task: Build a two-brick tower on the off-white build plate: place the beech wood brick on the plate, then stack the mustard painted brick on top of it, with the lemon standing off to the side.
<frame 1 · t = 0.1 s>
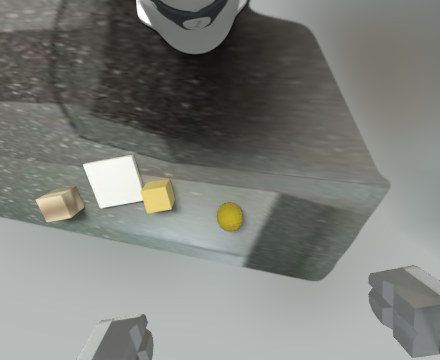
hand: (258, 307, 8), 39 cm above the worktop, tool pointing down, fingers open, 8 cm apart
build plate: (117, 181, 46), on the worktop
beech brick: (69, 198, 47), on the worktop
mustard brick: (161, 190, 47), on the worktop
lemon: (228, 207, 50), on the worktop
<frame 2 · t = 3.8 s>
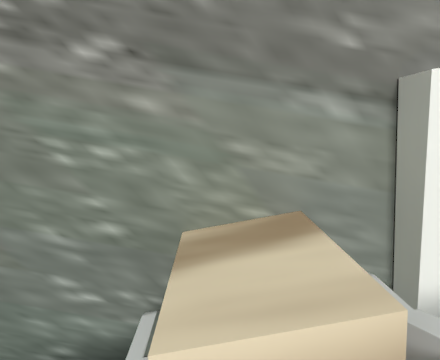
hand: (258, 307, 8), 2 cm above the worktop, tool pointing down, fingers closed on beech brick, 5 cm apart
beech brick: (249, 272, 9), on the worktop, touching gripper
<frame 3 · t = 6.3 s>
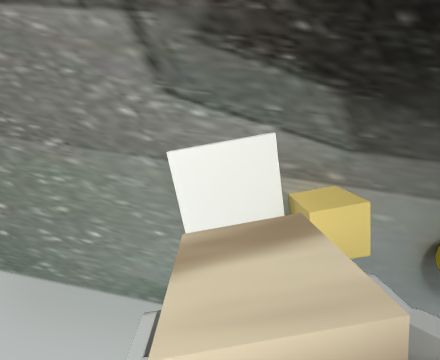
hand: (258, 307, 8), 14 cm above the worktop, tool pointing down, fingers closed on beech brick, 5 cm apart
build plate: (228, 190, 22), on the worktop
beech brick: (250, 274, 9), point 13 cm above the worktop, touching gripper
mustard brick: (313, 211, 23), on the worktop
lemon: (437, 246, 24), on the worktop
when the fingers open (4 cm above the worktop, at t = 8.5 s): beech brick stays where it is, resting on build plate.
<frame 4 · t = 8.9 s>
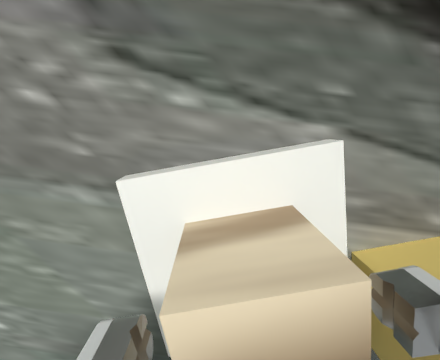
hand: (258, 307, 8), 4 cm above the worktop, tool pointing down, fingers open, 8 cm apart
build plate: (242, 247, 12), on the worktop
beech brick: (245, 261, 10), point 1 cm above the worktop, touching build plate
mustard brick: (393, 280, 13), on the worktop
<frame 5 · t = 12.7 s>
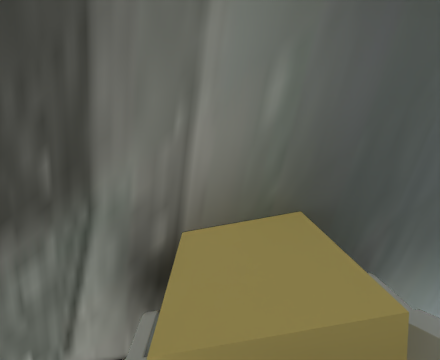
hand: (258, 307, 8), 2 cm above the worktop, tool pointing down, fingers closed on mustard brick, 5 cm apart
mustard brick: (249, 273, 9), on the worktop, touching gripper
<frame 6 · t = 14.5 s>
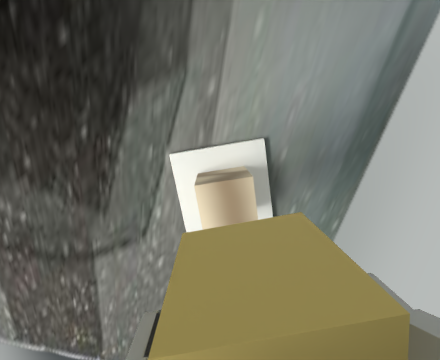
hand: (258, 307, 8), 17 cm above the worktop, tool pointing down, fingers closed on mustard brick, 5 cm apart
build plate: (223, 188, 24), on the worktop
beech brick: (224, 191, 23), point 1 cm above the worktop, touching build plate
mustard brick: (250, 273, 9), point 15 cm above the worktop, touching gripper
when the fingers open (9 cm above the worktop, at t = 16.4 s): mustard brick stays where it is, resting on beech brick.
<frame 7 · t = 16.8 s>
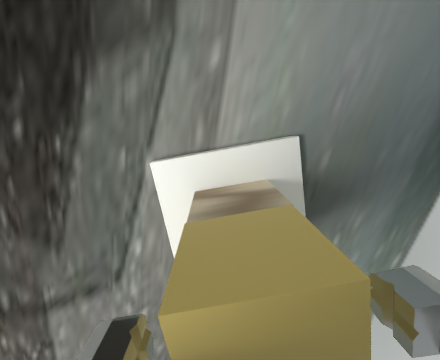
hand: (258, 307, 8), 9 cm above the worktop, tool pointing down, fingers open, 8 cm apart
build plate: (234, 212, 16), on the worktop
beech brick: (235, 218, 15), point 1 cm above the worktop, touching build plate, mustard brick
mustard brick: (245, 260, 10), point 6 cm above the worktop, touching beech brick
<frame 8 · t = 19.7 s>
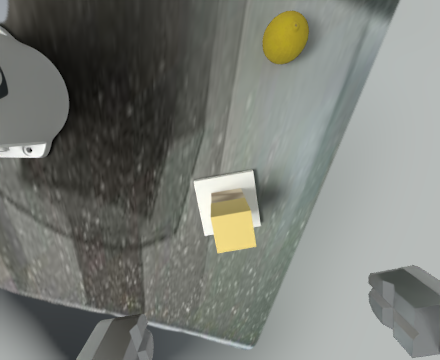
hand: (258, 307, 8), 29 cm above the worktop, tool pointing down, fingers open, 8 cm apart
build plate: (227, 202, 37), on the worktop
beech brick: (228, 204, 36), point 1 cm above the worktop, touching build plate, mustard brick
mustard brick: (230, 216, 31), point 6 cm above the worktop, touching beech brick
lemon: (275, 50, 32), on the worktop
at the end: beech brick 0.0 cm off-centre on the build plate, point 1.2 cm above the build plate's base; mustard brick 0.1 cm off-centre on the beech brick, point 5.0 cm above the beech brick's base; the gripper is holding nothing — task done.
